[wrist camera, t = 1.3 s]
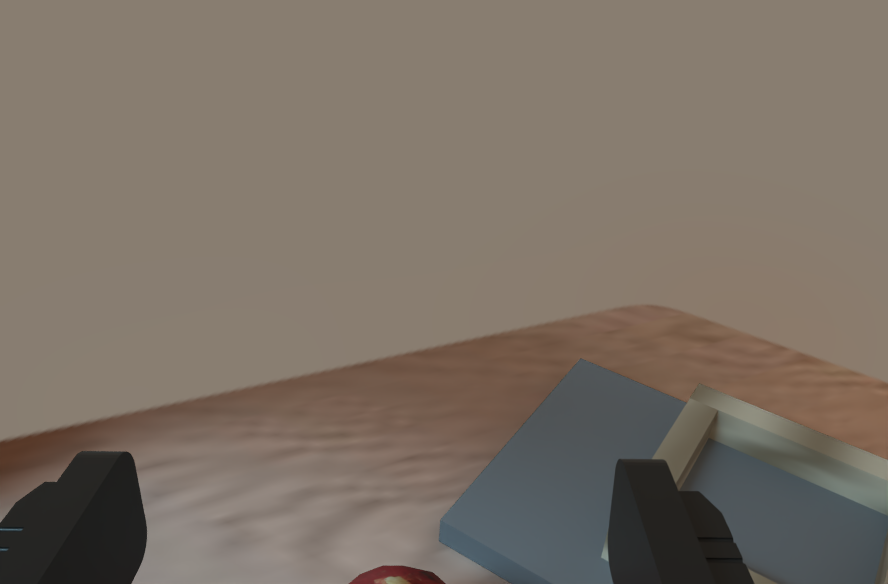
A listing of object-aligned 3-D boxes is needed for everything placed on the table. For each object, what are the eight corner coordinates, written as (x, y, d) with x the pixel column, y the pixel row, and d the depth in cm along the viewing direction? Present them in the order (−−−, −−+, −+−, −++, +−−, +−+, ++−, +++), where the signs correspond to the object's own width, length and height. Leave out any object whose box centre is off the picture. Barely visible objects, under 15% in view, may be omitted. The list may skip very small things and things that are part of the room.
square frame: (600, 557, 35) (608, 528, 34) (691, 410, 44) (699, 383, 43) (889, 712, 30) (909, 683, 29) (928, 511, 39) (945, 483, 37)
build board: (438, 540, 38) (440, 519, 37) (577, 377, 48) (580, 358, 47) (893, 806, 29) (909, 786, 28) (940, 535, 39) (952, 514, 38)
